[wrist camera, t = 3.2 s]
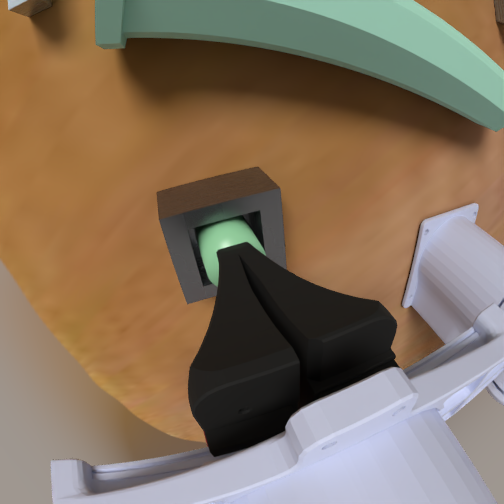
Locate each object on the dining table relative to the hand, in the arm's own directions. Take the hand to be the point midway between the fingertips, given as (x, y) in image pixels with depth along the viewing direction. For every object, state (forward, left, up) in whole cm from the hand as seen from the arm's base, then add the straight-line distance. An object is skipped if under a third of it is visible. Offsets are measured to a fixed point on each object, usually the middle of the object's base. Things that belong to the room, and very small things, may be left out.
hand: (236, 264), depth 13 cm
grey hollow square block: (0, 0, -4) cm, 4 cm away
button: (0, 0, -3) cm, 3 cm away
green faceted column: (+9, -10, -5) cm, 14 cm away
